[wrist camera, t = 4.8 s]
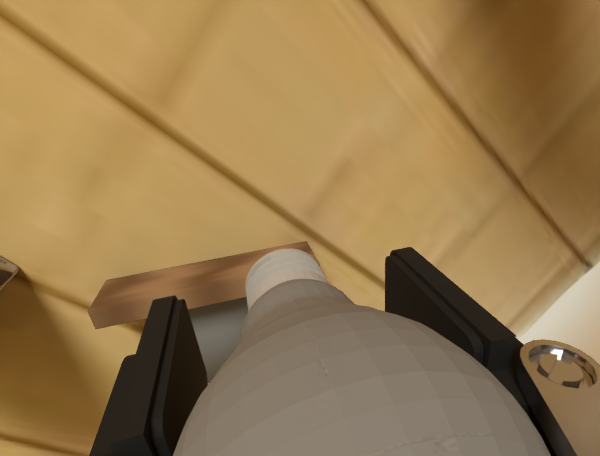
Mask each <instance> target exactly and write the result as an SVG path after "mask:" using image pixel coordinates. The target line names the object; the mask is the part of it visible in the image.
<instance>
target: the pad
mask: <svg viewBox="0 0 600 456" xmlns="http://www.w3.org/2000/svg"><path fill="white" fill-rule="evenodd" d="M188 311H189V315H190V318H191V321H192V325H193V328H194V331H195V335H196V338H197V342H198V345H199V348H200V352H201V355H202V358H203V362H204V365H205V368H206V372H207V381H208V383H210V382H211V380H212V379H213V378H214V377H215V375H216V374H217V372H218V371H219V369H220V368H221V366H222V365H223V364H224V363H225V361H226V360H227V359H228V358H229V357H230V356H231V354H232V353H233V352H234V351H235V350H236V348H237V347H238V345H239V337H240V331H241V328H242V324H243V321H244V319H245V317H246V315H247V313H248V305H247V297H243V298H238V299H234V300H229V301H224V302H220V303H215V304H211V305H206V306H201V307H197V308H192V309H188Z"/></svg>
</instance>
